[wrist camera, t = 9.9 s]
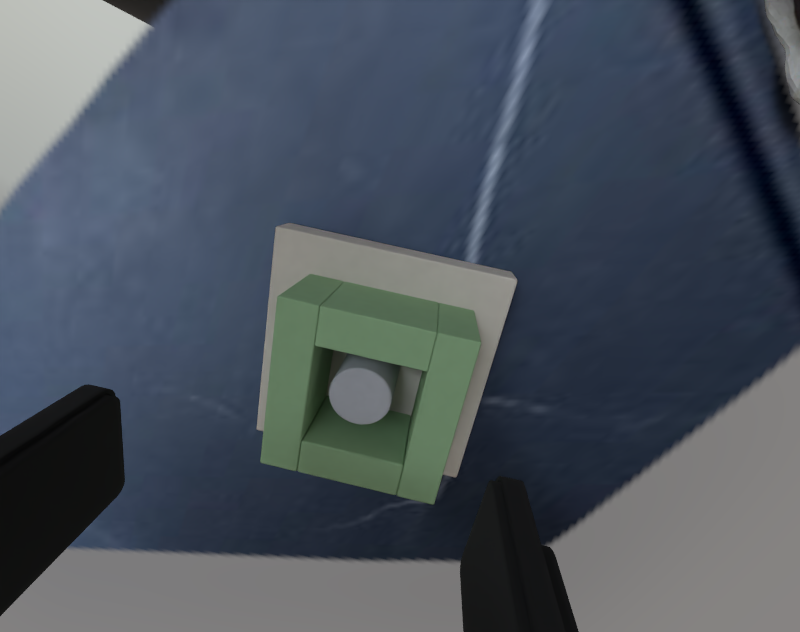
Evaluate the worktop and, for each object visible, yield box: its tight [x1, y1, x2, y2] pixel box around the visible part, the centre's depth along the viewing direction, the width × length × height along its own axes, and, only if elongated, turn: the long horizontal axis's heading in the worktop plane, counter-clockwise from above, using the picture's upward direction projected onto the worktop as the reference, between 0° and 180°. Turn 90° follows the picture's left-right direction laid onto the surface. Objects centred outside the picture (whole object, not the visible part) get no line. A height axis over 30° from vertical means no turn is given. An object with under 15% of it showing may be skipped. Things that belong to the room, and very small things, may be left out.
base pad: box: [257, 223, 517, 477], centre depth 17 cm, size 10×10×4 cm
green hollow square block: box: [260, 274, 481, 505], centre depth 16 cm, size 7×7×4 cm
